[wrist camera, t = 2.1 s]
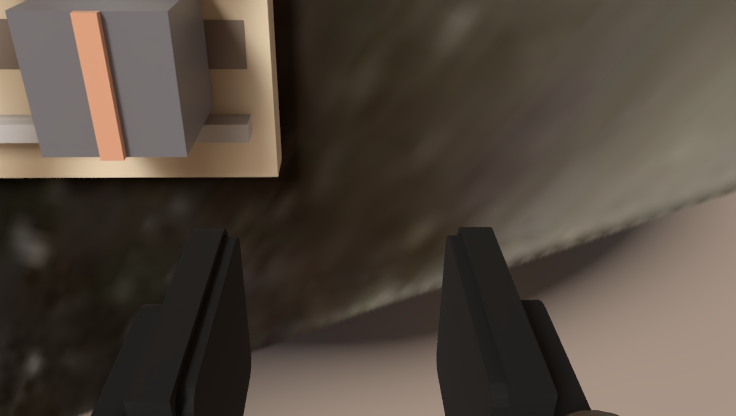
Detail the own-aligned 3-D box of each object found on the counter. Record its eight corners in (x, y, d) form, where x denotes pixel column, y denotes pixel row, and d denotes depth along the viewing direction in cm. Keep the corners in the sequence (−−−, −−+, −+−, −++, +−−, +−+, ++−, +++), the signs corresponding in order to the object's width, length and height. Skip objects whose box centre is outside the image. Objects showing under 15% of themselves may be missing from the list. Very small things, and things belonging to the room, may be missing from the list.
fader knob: (92, 106, 27) (38, 160, 22) (66, -19, 24) (0, 12, 20) (213, 106, 27) (185, 160, 22) (199, -18, 25) (165, 13, 20)
